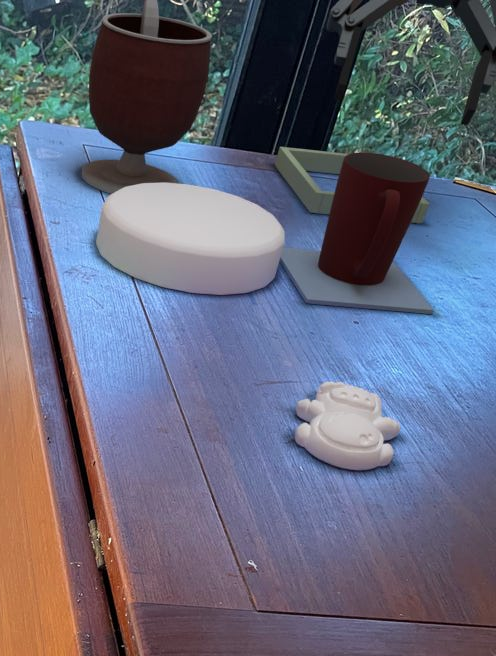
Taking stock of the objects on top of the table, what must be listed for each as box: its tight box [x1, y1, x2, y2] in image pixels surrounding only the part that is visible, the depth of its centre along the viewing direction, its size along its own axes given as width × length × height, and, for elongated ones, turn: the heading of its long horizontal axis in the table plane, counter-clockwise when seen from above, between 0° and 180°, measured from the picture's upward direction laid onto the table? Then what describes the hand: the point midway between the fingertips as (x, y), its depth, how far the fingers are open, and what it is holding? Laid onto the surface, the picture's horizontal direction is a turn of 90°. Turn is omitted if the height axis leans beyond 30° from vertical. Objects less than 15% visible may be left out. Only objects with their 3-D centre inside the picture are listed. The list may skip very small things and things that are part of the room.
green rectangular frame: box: [274, 146, 431, 224], centre depth 132 cm, size 15×18×2 cm
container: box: [95, 183, 286, 296], centre depth 108 cm, size 20×20×5 cm
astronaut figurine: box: [294, 381, 401, 471], centre depth 83 cm, size 9×12×3 cm
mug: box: [318, 152, 431, 285], centre depth 105 cm, size 12×9×11 cm
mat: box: [279, 246, 435, 315], centre depth 109 cm, size 14×14×1 cm
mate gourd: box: [81, 0, 213, 195], centre depth 120 cm, size 16×14×20 cm
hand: (403, 105), depth 106 cm, fingers open, 13 cm apart
